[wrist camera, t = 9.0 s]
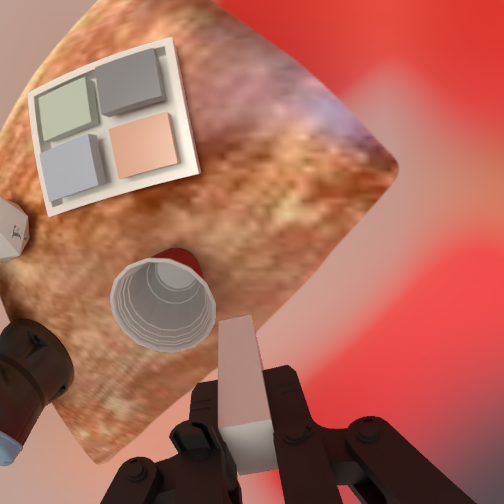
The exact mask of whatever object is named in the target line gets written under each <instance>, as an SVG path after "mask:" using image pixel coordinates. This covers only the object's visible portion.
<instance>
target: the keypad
mask: <svg viewBox="0 0 504 504" xmlns="http://www.w3.org/2000/svg"><path fill="white" fill-rule="evenodd" d="M150 48H154V49H155V51H156V52H157V54H158V57H159V63H160V69H161V75H162V80H163V86H164V91H165V97H166V100H164V101H161V102H157V103H153V104H150V105H146V106H143V107H140V108H137V109H133V110H130V111H127V112H124V113H121V114H118V115H115V116H112V117H107V116H104V115H101V109H100V102H99V95H98V88H97V81H96V73H95V67H97V66H100V65H102V64H105V63H108V62H111V61H113V60H116V59H119V58H122V57H125V56H128V55H131V54H134V53H137V52H140V51H144V50H147V49H150ZM83 77H86V78H88V79H90V80H92V81H93V85H94V92H95V99H96V106H97V112H98V119H99V124H98V125H95V126H93V127H90V128H87V129H85V130H82V131H80V132H77V133H75V134H72V135H70V136H67V137H65V138H62V139H60V140H58V141H55V142H44V139H43V132H42V125H41V117H40V108H39V97H41V96H43V95H45V94H48V93H50V92H52V91H54V90H56V89H58V88H60V87H62V86H65V85H67V84H69V83H71V82H74V81H76V80H78V79H81V78H83ZM27 94H28V106H29V115H30V124H31V132H32V139H33V146H34V152H35V158H36V163H37V169H38V174H39V179H40V184H41V188H42V193H43V197H44V201H45V205H46V210H47V213H48V217H51V216H54V215H56V214H59V213H62V212H65V211H68V210H71V209H74V208H77V207H80V206H84V205H87V204H90V203H93V202H96V201H99V200H103V199H106V198H109V197H113V196H116V195H120V194H123V193H127V192H130V191H134V190H137V189H141V188H144V187H148V186H152V185H156V184H160V183H163V182H167V181H171V180H175V179H179V178H183V177H187V176H192V175H196V174H200V173H202V172H201V168H200V163H199V158H198V154H197V149H196V144H195V139H194V135H193V130H192V125H191V120H190V115H189V110H188V105H187V100H186V95H185V90H184V84H183V79H182V74H181V69H180V63H179V58H178V52H177V48H176V45H175V43H174V40H173V38H172V37H169V38H165V39H162V40H158V41H155V42H151V43H148V44H144V45H141V46H138V47H135V48H131V49H128V50H125V51H122V52H120V53H117V54H114V55H111V56H108V57H106V58H103V59H100V60H98V61H95V62H93V63H90V64H88V65H85V66H83V67H81V68H78V69H76V70H74V71H71V72H69V73H67V74H65V75H62V76H60V77H58V78H56V79H54V80H52V81H50V82H48V83H46V84H44V85H42V86H40V87H38V88H36V89H34V90H32V91H30V92H29V93H27ZM163 112H168V113H169V114H170V115H171V118H172V123H173V128H174V133H175V138H176V143H177V148H178V152H179V157H180V162H181V163H179V164H175V165H171V166H168V167H164V168H160V169H156V170H152V171H149V172H145V173H142V174H138V175H135V176H131V177H128V178H123V179H119V178H118V173H117V169H116V164H115V159H114V154H113V149H112V144H111V139H110V134H109V129H111V128H114V127H117V126H120V125H123V124H126V123H129V122H132V121H135V120H139V119H142V118H145V117H149V116H152V115H156V114H160V113H163ZM86 134H93V135H97V140H98V145H99V150H100V155H101V160H102V165H103V170H104V174H105V179H106V184H103V185H100V186H97V187H94V188H91V189H88V190H85V191H82V192H79V193H76V194H73V195H70V196H67V197H64V198H62V199H59V200H55V201H52V202H49V199H48V194H47V190H46V185H45V181H44V176H43V171H42V166H41V160H40V155H39V154H40V153H42V152H44V151H47V150H49V149H51V148H54V147H56V146H58V145H61V144H63V143H65V142H68V141H70V140H73V139H75V138H78V137H80V136H83V135H86Z"/></svg>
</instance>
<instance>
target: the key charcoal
mask: <svg viewBox="0 0 504 504" xmlns="http://www.w3.org/2000/svg"><path fill="white" fill-rule="evenodd" d="M95 73H96V81H97V88H98V95H99V102H100V109H101V115H104V116H107V117H112V116H115V115H118V114H121V113H124V112H127V111H130V110H133V109H137V108H140V107H143V106H146V105H150V104H153V103H157V102H161V101H164V100H166V97H165V91H164V86H163V80H162V75H161V69H160V63H159V57H158V54H157V52H156V51H155V49H154V48H150V49H147V50H144V51H140V52H137V53H134V54H131V55H128V56H125V57H122V58H119V59H116V60H113V61H111V62H108V63H105V64H102V65H100V66H97V67H95Z"/></svg>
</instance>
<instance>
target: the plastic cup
mask: <svg viewBox="0 0 504 504" xmlns="http://www.w3.org/2000/svg"><path fill="white" fill-rule="evenodd" d="M110 302H111V308H112V314H113V317H114V318H115V320H116V322H117V323H118V325H119V327H120V328H121V330H122V331H123V332H124V333H125V334H126V335H127V336H128V337H130V338H131V339H132V340H133V341H134V342H136V343H137V344H139V345H141V346H143V347H146V348H148V349H151V350H153V351H156V352H169V353H177V352H181V351H184V350H188V349H192V348H194V347H195V346H197V345H198V344H199V343H201V342H202V341H203V340H204V339H206V338H207V337H208V335H209V333H210V331H211V329H212V327H213V325H214V323H215V322H216V302H215V300H214V298H213V296H212V293H211V291H210V289H209V287H208V285H207V283H206V281H205V280H204V278H203V275H202V272H201V270H200V267H199V264H198V262H197V260H196V258H195V257H194V256H193V255H192V254H191V253H190V252H188V251H186V250H184V249H181V248H171V249H168V250H166V251H163V252H161V253H158V254H156V255H154V256H153V257H151V258H146V259H143V260H141V261H138V262H135V263H133V264H130V265H128V266H127V267H126V268H125V269H124V270H123V271H122V272H121V273H120V274H119V275H118V276H117V277H116V278H115V280H114V283H113V287H112V290H111V294H110Z"/></svg>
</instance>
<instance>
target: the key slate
mask: <svg viewBox="0 0 504 504" xmlns="http://www.w3.org/2000/svg"><path fill="white" fill-rule="evenodd" d="M39 155H40V160H41V166H42V171H43V176H44V181H45V185H46V190H47V194H48V199H49V202H52V201H55V200H59V199H62V198H64V197H67V196H70V195H73V194H76V193H79V192H82V191H85V190H88V189H91V188H94V187H97V186H100V185H103V184H106V179H105V174H104V170H103V165H102V160H101V155H100V150H99V145H98V140H97V135H93V134H86V135H83V136H80V137H78V138H75V139H73V140H70V141H68V142H65V143H63V144H61V145H58V146H56V147H54V148H51V149H49V150H47V151H44V152H42V153H40V154H39Z"/></svg>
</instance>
